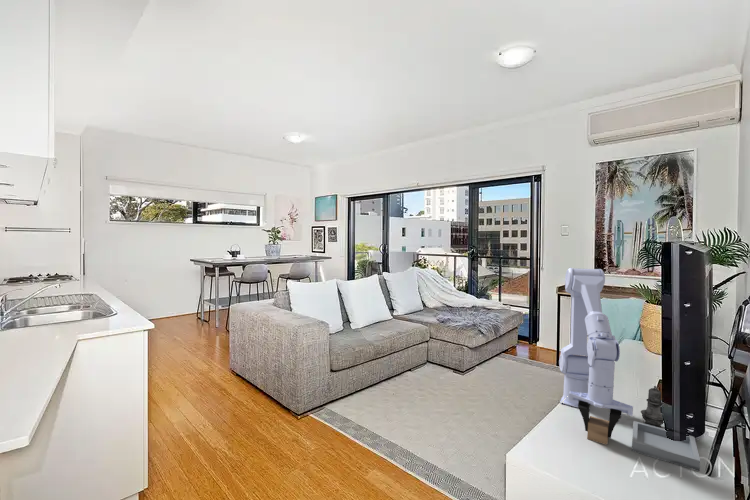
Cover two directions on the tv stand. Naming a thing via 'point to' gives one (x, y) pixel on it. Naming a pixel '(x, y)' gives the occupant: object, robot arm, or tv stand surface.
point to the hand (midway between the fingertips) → (598, 432)
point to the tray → (664, 446)
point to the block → (598, 430)
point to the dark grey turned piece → (653, 409)
